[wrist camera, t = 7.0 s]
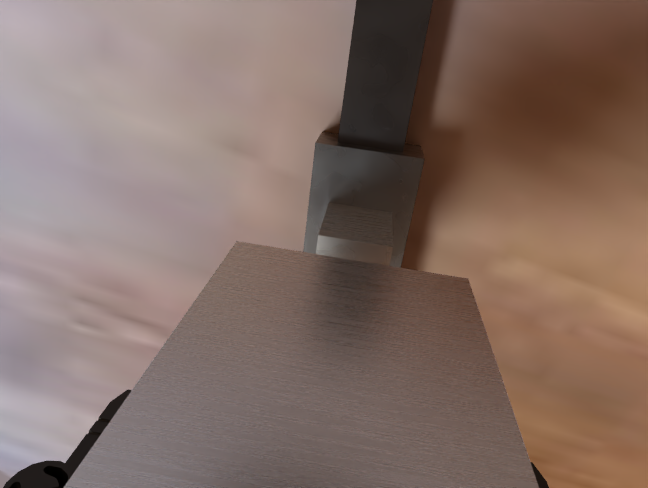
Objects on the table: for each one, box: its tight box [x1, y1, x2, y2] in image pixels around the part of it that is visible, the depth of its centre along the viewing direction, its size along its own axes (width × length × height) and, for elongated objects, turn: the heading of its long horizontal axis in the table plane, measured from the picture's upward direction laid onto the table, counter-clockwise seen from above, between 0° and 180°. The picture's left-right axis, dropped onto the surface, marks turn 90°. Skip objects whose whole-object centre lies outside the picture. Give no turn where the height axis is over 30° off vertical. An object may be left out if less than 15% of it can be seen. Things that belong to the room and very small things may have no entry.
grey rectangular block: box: [64, 241, 539, 488], centre depth 12 cm, size 7×7×9 cm
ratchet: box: [303, 0, 433, 268], centre depth 21 cm, size 19×5×6 cm, turn 173°
